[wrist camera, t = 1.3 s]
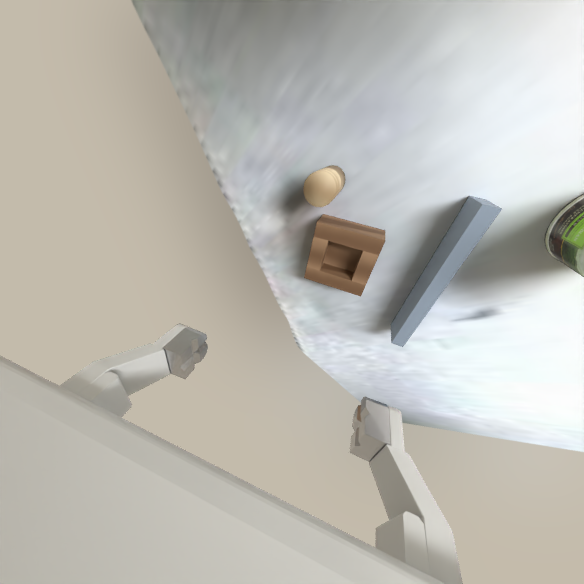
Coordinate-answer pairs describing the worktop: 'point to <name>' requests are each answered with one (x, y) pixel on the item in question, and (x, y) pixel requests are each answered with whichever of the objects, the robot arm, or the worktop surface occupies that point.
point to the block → (343, 253)
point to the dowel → (324, 185)
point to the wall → (443, 265)
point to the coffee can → (568, 236)
